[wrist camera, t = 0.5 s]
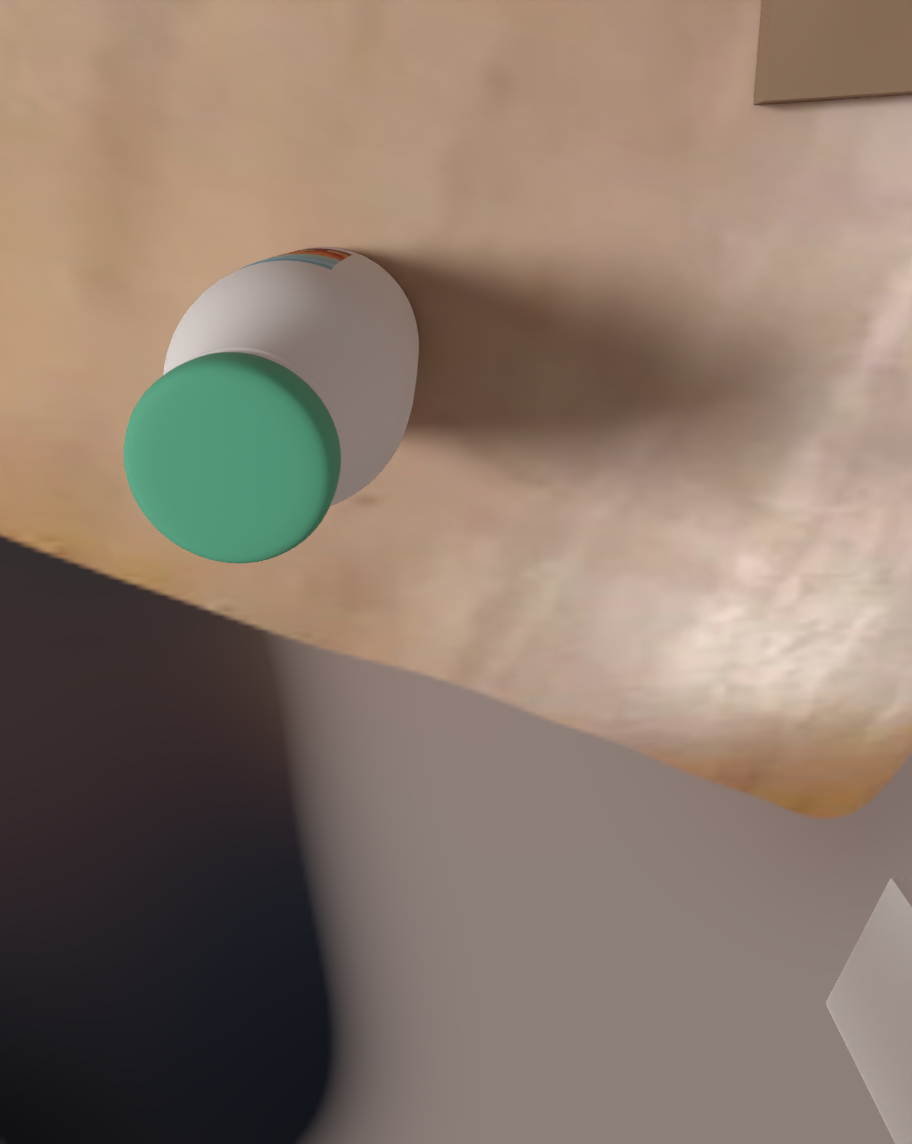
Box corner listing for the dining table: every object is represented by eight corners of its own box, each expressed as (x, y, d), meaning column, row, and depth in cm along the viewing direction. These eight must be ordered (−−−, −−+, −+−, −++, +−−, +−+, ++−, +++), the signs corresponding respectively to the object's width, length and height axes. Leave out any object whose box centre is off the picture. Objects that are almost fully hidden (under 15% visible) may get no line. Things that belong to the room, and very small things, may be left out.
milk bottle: (427, 257, 34) (424, 303, 16) (411, 433, 37) (392, 644, 19) (245, 235, 33) (20, 257, 15) (244, 416, 36) (57, 615, 18)
